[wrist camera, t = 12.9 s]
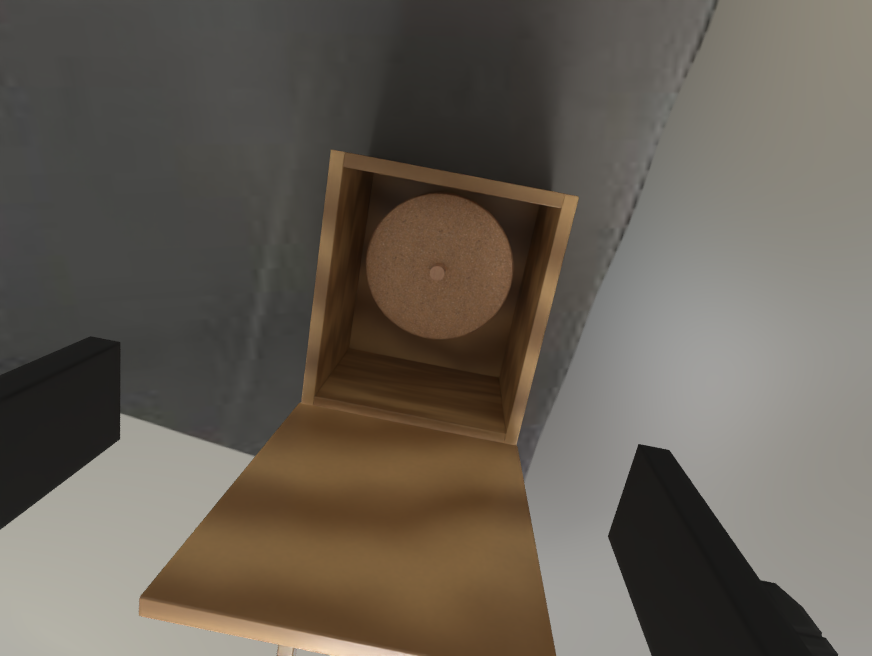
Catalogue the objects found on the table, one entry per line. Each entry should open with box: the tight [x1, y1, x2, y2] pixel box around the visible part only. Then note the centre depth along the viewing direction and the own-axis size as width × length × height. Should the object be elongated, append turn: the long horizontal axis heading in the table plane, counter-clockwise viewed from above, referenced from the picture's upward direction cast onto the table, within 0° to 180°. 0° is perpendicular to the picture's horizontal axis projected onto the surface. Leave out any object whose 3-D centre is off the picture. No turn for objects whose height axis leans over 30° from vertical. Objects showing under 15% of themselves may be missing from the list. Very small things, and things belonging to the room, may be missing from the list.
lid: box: [139, 403, 556, 656], centre depth 29 cm, size 19×16×8 cm
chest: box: [301, 150, 579, 445], centre depth 41 cm, size 18×16×12 cm
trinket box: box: [366, 193, 513, 340], centre depth 41 cm, size 11×11×9 cm
